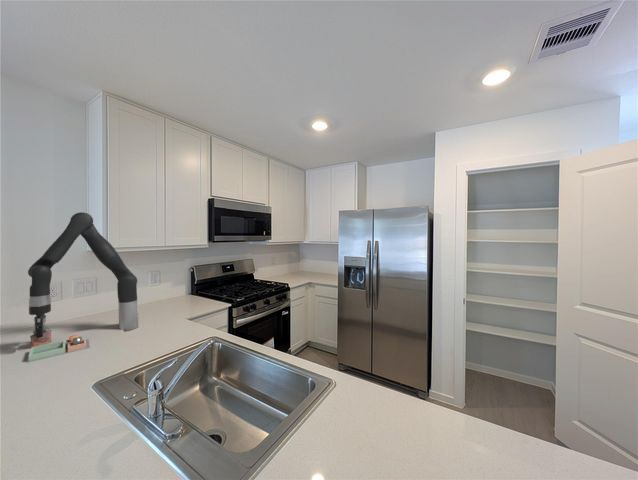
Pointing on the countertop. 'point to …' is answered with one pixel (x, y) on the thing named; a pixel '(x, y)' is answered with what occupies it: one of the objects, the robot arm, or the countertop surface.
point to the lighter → (43, 340)
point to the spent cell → (76, 340)
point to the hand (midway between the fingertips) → (40, 334)
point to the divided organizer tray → (55, 349)
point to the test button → (72, 338)
